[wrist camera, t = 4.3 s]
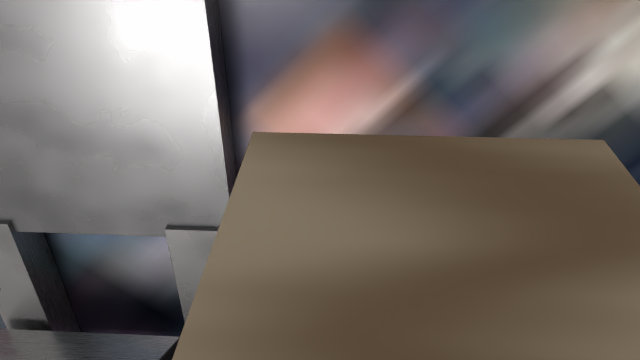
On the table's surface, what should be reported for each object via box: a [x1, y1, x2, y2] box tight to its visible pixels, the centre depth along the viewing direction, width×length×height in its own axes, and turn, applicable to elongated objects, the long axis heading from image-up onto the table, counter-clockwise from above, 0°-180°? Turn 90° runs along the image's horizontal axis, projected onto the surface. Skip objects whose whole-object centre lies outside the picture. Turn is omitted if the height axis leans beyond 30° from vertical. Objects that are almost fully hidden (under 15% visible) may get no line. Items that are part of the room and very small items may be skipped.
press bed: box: [0, 0, 237, 332], centre depth 21 cm, size 11×22×2 cm, turn 1°
